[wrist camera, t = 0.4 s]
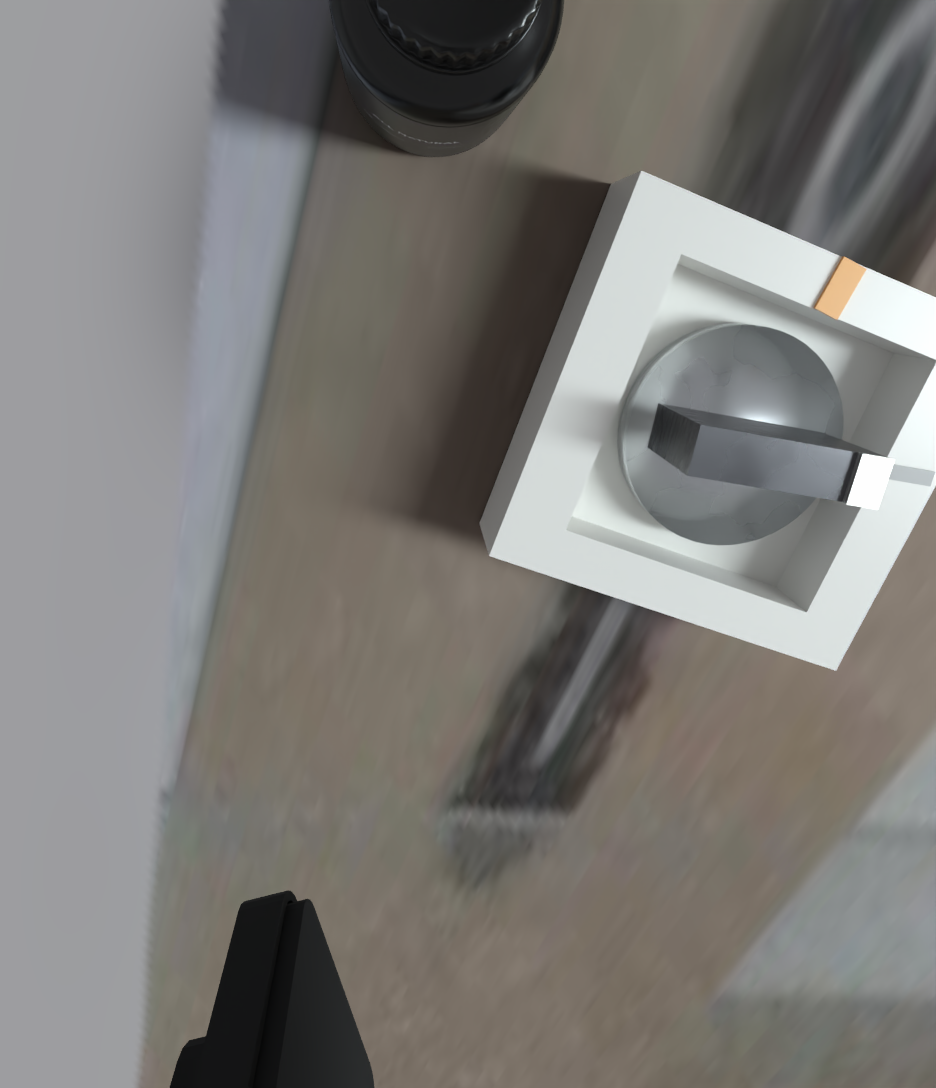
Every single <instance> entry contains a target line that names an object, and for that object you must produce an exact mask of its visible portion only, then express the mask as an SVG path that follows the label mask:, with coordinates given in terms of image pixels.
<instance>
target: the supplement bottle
mask: <svg viewBox="0 0 936 1088" xmlns="http://www.w3.org/2000/svg"><path fill="white" fill-rule="evenodd" d="M329 2H330V10H331V17H332V22H333V27H334V31H335V36H336V40H337V45H338V49H339V54H340V58H341V63H342V67H343V71H344V75H345V79H346V82H347V85H348V88H349V91H350V94H351V96H352V98H353V100H354V103H355V104H356V106H357V108H358V110H359V111H360V113H361V114H362V116H363V117H364V119H365V120H366V121H367V122H368V124H369V125H370V126H371V127H372V128H373V129H374V130H375V131H376V132H377V133H378V134H379V135H380V136H381V137H383V138H384V139H385V140H386V141H388V142H389V143H391V144H392V145H394V146H396V147H398V148H400V149H402V150H404V151H407V152H409V153H413V154H416V155H421V156H427V157H444V156H451V155H455V154H459V153H462V152H465V151H467V150H470V149H472V148H474V147H476V146H477V145H479V144H480V143H482V142H484V141H485V140H486V139H487V138H489V137H490V136H491V135H492V134H493V133H494V132H495V131H496V130H497V129H498V128H499V127H500V126H501V125H502V124H503V123H504V121H505V120H506V119H507V118H508V117H509V115H510V114H511V113H512V111H513V110H514V109H515V108H516V106H517V105H518V104H519V103H520V101H521V100H522V99H523V97H524V96H525V95H526V94H527V92H528V91H529V90H530V89H531V87H532V86H533V85H534V83H535V82H536V80H537V79H538V77H539V76H540V75H541V73H542V71H543V69H544V68H545V66H546V64H547V62H548V60H549V58H550V56H551V53H552V51H553V49H554V46H555V44H556V41H557V38H558V34H559V31H560V27H561V22H562V16H563V9H564V0H329Z"/></svg>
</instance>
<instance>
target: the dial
mask: <svg viewBox="0 0 936 1088" xmlns="http://www.w3.org/2000/svg"><path fill="white" fill-rule="evenodd" d="M842 437H843V409H842V402H841V398H840V394H839V391H838V387H837V385H836V383H835V381H834V378H833V376H832V374H831V372H830V371H829V369H828V368H827V366H826V365H825V363H824V362H823V361H822V360H821V358H820V357H819V356H818V355H817V354H816V353H815V352H814V351H813V350H812V349H811V348H810V347H808V346H807V345H806V344H805V343H803V342H802V341H800V340H799V339H797V338H795V337H794V336H792V335H789V334H787V333H785V332H782V331H780V330H776V329H773V328H769V327H764V326H757V325H750V324H742V323H724V324H717V325H711V326H707V327H704V328H701V329H697V330H695V331H692V332H690V333H688V334H685V335H683V336H681V337H680V338H678V339H676V340H675V341H673V342H671V343H670V344H668V345H667V346H666V347H665V348H663V349H662V350H661V351H660V352H658V353H657V354H656V355H655V356H654V357H653V358H652V359H651V360H650V361H649V362H648V363H647V364H646V366H645V367H644V368H643V370H642V371H641V372H640V373H639V375H638V376H637V378H636V380H635V381H634V383H633V385H632V386H631V388H630V390H629V392H628V395H627V397H626V399H625V401H624V404H623V408H622V411H621V414H620V419H619V425H618V436H617V447H618V457H619V462H620V466H621V470H622V473H623V476H624V478H625V481H626V483H627V485H628V487H629V489H630V491H631V492H632V494H633V495H634V497H635V498H636V499H637V501H638V502H639V503H640V505H641V506H642V507H643V508H644V509H645V510H646V511H647V512H648V513H649V514H650V515H651V516H652V517H653V518H654V519H656V520H657V521H658V522H659V523H660V524H661V525H663V526H664V527H665V528H667V529H668V530H669V531H671V532H673V533H675V534H677V535H679V536H680V537H683V538H686V539H688V540H691V541H694V542H699V543H703V544H709V545H735V544H741V543H747V542H751V541H754V540H757V539H761V538H763V537H765V536H768V535H770V534H772V533H774V532H776V531H778V530H780V529H781V528H783V527H785V526H786V525H788V524H789V523H791V522H792V521H793V520H795V519H796V518H797V517H798V516H800V515H801V514H802V513H803V512H804V511H805V510H806V509H807V508H808V507H809V506H810V505H811V504H812V503H813V501H814V500H815V499H816V498H822V499H828V500H834V501H840V502H842V503H844V504H846V505H851V506H857V507H863V508H869V509H875V510H878V508H879V505H880V502H881V499H882V496H883V493H884V490H885V487H886V484H887V481H888V478H889V475H890V472H891V470H892V467H893V464H894V461H895V459H892V458H889V457H886V456H883V455H880V454H878V453H875V452H872V451H870V450H867V449H865V448H862V447H859V446H857V445H854V444H851V443H849V442H846V441H844V440H842Z"/></svg>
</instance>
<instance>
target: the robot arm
mask: <svg viewBox="0 0 936 1088" xmlns="http://www.w3.org/2000/svg"><path fill="white" fill-rule="evenodd" d="M170 1088H374V1080H373V1074H372V1069H371V1066H370V1062H369V1059H368V1056H367V1054H366V1051H365V1048H364V1045H363V1042H362V1040H361V1037H360V1034H359V1031H358V1028H357V1026H356V1023H355V1020H354V1017H353V1014H352V1012H351V1009H350V1006H349V1003H348V1000H347V998H346V995H345V992H344V989H343V986H342V984H341V981H340V978H339V975H338V972H337V970H336V967H335V964H334V961H333V959H332V956H331V953H330V950H329V947H328V945H327V942H326V939H325V936H324V933H323V931H322V928H321V925H320V922H319V919H318V917H317V914H316V911H315V908H314V906H313V904H312V902H311V901H310V900H309V899H305V900H301V901H297V900H296V897H295V895H294V894H293V893H292V892H291V891H284V892H280V893H276V894H272V895H268V896H264V897H260V898H256V899H252V900H248V901H244V902H243V903H242V904H241V906H240V908H239V911H238V915H237V919H236V923H235V926H234V930H233V934H232V938H231V942H230V946H229V950H228V953H227V957H226V961H225V965H224V969H223V973H222V977H221V981H220V984H219V988H218V992H217V996H216V1000H215V1004H214V1008H213V1011H212V1015H211V1019H210V1023H209V1027H208V1031H207V1035H206V1036H205V1037H201V1038H197V1039H193V1040H189V1041H188V1043H187V1044H186V1045H185V1046H184V1047H183V1049H182V1051H181V1054H180V1056H179V1059H178V1061H177V1064H176V1068H175V1071H174V1075H173V1078H172V1081H171V1085H170Z"/></svg>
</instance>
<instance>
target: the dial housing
mask: <svg viewBox="0 0 936 1088" xmlns="http://www.w3.org/2000/svg"><path fill="white" fill-rule="evenodd" d="M724 323H742V324H750V325H757V326H764V327H769V328H773V329H776V330H780V331H782V332H785V333H787V334H789V335H792V336H794V337H795V338H797V339H799V340H800V341H802V342H803V343H805V344H806V345H807V346H808V347H810V348H811V349H812V350H813V351H814V352H815V353H816V354H817V355H818V356H819V357H820V358H821V360H822V361H823V362H824V363H825V365H826V366H827V368H828V369H829V371H830V372H831V374H832V376H833V378H834V381H835V383H836V385H837V387H838V391H839V394H840V398H841V402H842V409H843V437H842V440H844V441H846V442H849V443H851V444H854V445H857V446H859V447H862V448H865V449H867V450H870V451H872V452H875V453H878V454H880V455H883V456H886V457H889V458H892V459H895V461H894V464H893V467H892V470H891V472H890V475H889V478H888V481H887V484H886V487H885V490H884V493H883V496H882V499H881V502H880V505H879V508H878V510H875V509H869V508H863V507H857V506H851V505H846V504H844V503H842V502H840V501H834V500H828V499H822V498H816V499H815V500H814V501H813V503H812V504H811V505H810V506H809V507H808V508H807V509H806V510H805V511H804V512H803V513H802V514H801V515H800V516H798V517H797V518H796V519H795V520H793V521H792V522H791V523H789V524H788V525H786V526H785V527H783V528H781V529H780V530H778V531H776V532H774V533H772V534H770V535H768V536H765V537H763V538H761V539H757V540H754V541H751V542H747V543H741V544H735V545H709V544H703V543H699V542H694V541H691V540H688V539H686V538H683V537H680V536H679V535H677V534H675V533H673V532H671V531H669V530H668V529H667V528H665V527H664V526H663V525H661V524H660V523H659V522H658V521H657V520H656V519H654V518H653V517H652V516H651V515H650V514H649V513H648V512H647V511H646V510H645V509H644V508H643V507H642V506H641V505H640V503H639V502H638V501H637V499H636V498H635V497H634V495H633V494H632V492H631V491H630V489H629V487H628V485H627V483H626V481H625V478H624V476H623V473H622V470H621V466H620V462H619V457H618V447H617V436H618V425H619V419H620V414H621V411H622V408H623V404H624V401H625V399H626V397H627V395H628V392H629V390H630V388H631V386H632V385H633V383H634V381H635V380H636V378H637V376H638V375H639V373H640V372H641V371H642V370H643V368H644V367H645V366H646V364H647V363H648V362H649V361H650V360H651V359H652V358H653V357H654V356H655V355H656V354H657V353H658V352H660V351H661V350H662V349H663V348H665V347H666V346H667V345H668V344H670V343H671V342H673V341H675V340H676V339H678V338H680V337H681V336H683V335H685V334H688V333H690V332H692V331H695V330H697V329H701V328H704V327H707V326H711V325H717V324H724ZM935 486H936V297H933V296H931V295H929V294H926V293H924V292H922V291H919V290H917V289H915V288H912V287H910V286H908V285H905V284H903V283H901V282H898V281H896V280H894V279H892V278H889V277H887V276H885V275H882V274H880V273H878V272H875V271H873V270H871V269H868V268H866V267H864V266H861V265H859V264H857V263H855V262H853V261H852V260H850V259H848V258H846V257H841V256H838V255H836V254H834V253H831V252H829V251H827V250H824V249H822V248H820V247H817V246H815V245H813V244H810V243H808V242H806V241H803V240H801V239H799V238H796V237H794V236H792V235H789V234H787V233H785V232H783V231H780V230H778V229H776V228H773V227H771V226H769V225H766V224H764V223H762V222H759V221H757V220H755V219H752V218H750V217H748V216H745V215H743V214H741V213H738V212H736V211H734V210H732V209H729V208H727V207H725V206H722V205H720V204H718V203H715V202H713V201H711V200H708V199H706V198H704V197H701V196H699V195H697V194H694V193H692V192H690V191H687V190H685V189H683V188H680V187H678V186H676V185H674V184H671V183H669V182H667V181H664V180H662V179H660V178H657V177H655V176H653V175H650V174H648V173H646V172H643V171H640V172H637V173H635V174H633V175H630V176H628V177H626V178H623V179H621V180H619V181H616V182H614V183H612V184H611V185H610V188H609V190H608V193H607V195H606V198H605V201H604V203H603V206H602V208H601V211H600V214H599V216H598V219H597V221H596V224H595V226H594V229H593V232H592V234H591V237H590V239H589V242H588V244H587V247H586V250H585V252H584V255H583V257H582V260H581V263H580V265H579V268H578V270H577V273H576V275H575V278H574V281H573V283H572V286H571V288H570V291H569V293H568V296H567V299H566V301H565V304H564V306H563V309H562V312H561V314H560V317H559V319H558V322H557V324H556V327H555V330H554V332H553V335H552V337H551V340H550V342H549V345H548V348H547V350H546V353H545V355H544V358H543V361H542V363H541V366H540V368H539V371H538V373H537V376H536V379H535V381H534V384H533V386H532V389H531V392H530V394H529V397H528V399H527V402H526V404H525V407H524V410H523V412H522V415H521V417H520V420H519V422H518V425H517V428H516V430H515V433H514V435H513V438H512V441H511V443H510V446H509V448H508V451H507V453H506V456H505V459H504V461H503V464H502V466H501V469H500V471H499V474H498V477H497V479H496V482H495V484H494V487H493V490H492V492H491V495H490V497H489V500H488V502H487V505H486V508H485V510H484V513H483V515H482V518H481V520H480V523H479V524H480V528H481V531H482V534H483V538H484V541H485V544H486V547H487V551H488V554H489V556H491V557H494V558H497V559H500V560H503V561H506V562H509V563H512V564H515V565H518V566H521V567H524V568H527V569H530V570H533V571H536V572H539V573H542V574H545V575H548V576H551V577H554V578H557V579H560V580H563V581H566V582H569V583H572V584H575V585H578V586H581V587H584V588H587V589H591V590H594V591H597V592H600V593H603V594H606V595H609V596H612V597H615V598H618V599H621V600H624V601H627V602H630V603H633V604H636V605H639V606H642V607H645V608H648V609H651V610H654V611H657V612H660V613H663V614H666V615H669V616H672V617H675V618H678V619H681V620H684V621H687V622H690V623H693V624H696V625H699V626H702V627H705V628H708V629H711V630H714V631H717V632H720V633H723V634H727V635H730V636H733V637H736V638H739V639H742V640H745V641H748V642H751V643H754V644H757V645H760V646H763V647H766V648H769V649H772V650H775V651H778V652H781V653H784V654H787V655H790V656H793V657H796V658H799V659H802V660H805V661H808V662H811V663H814V664H817V665H820V666H823V667H826V668H829V669H832V670H835V671H836V669H837V668H838V666H839V664H840V662H841V660H842V658H843V656H844V655H845V653H846V651H847V649H848V647H849V645H850V643H851V642H852V640H853V638H854V636H855V634H856V632H857V631H858V629H859V627H860V625H861V623H862V621H863V619H864V618H865V616H866V614H867V612H868V610H869V608H870V606H871V605H872V603H873V601H874V599H875V597H876V595H877V593H878V592H879V590H880V588H881V586H882V584H883V582H884V581H885V579H886V577H887V575H888V573H889V571H890V569H891V568H892V566H893V564H894V562H895V560H896V558H897V556H898V555H899V553H900V551H901V549H902V547H903V545H904V543H905V542H906V540H907V538H908V536H909V534H910V532H911V531H912V529H913V527H914V525H915V523H916V521H917V519H918V518H919V516H920V514H921V512H922V510H923V508H924V506H925V505H926V503H927V501H928V499H929V497H930V495H931V493H932V492H933V490H934V488H935Z"/></svg>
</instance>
